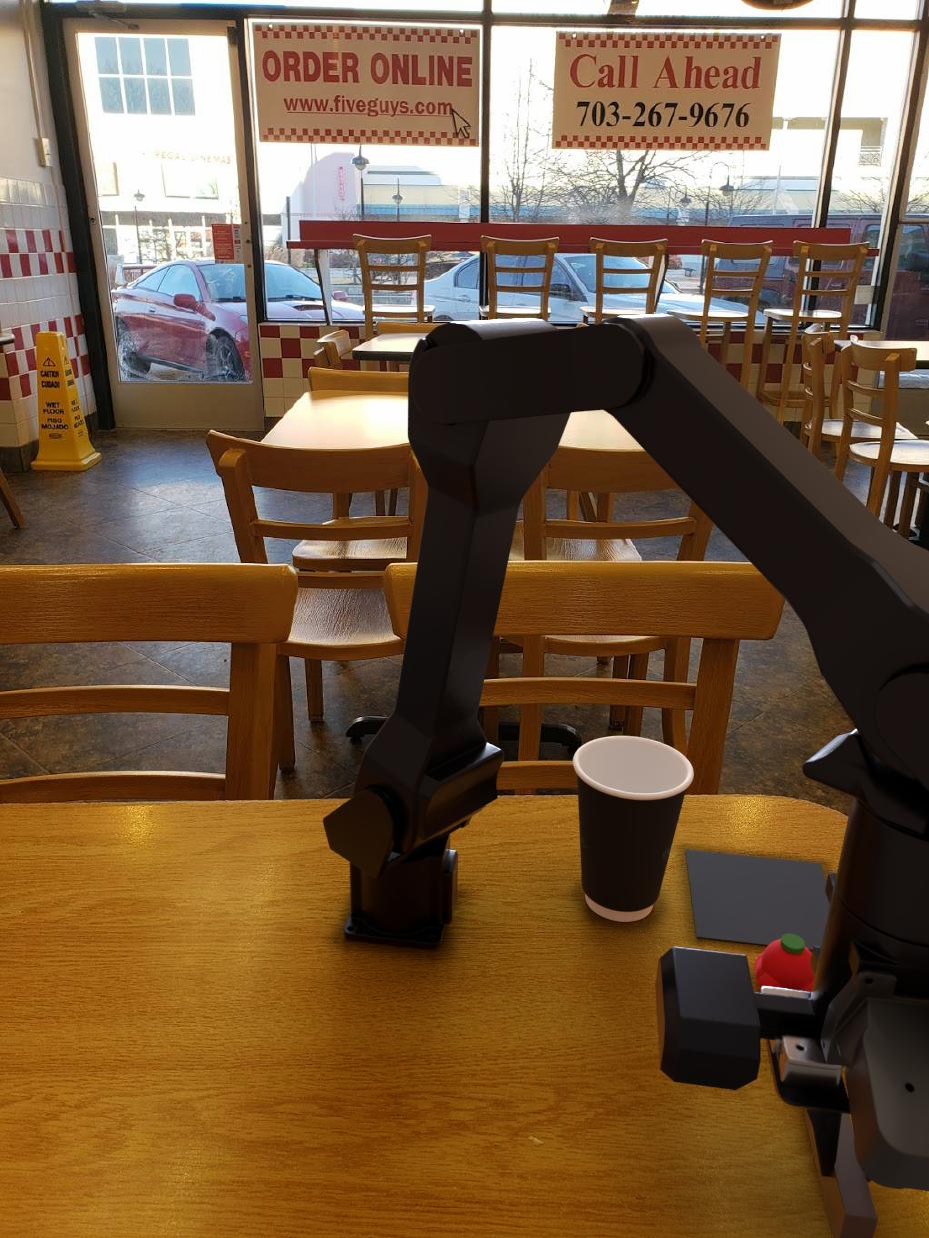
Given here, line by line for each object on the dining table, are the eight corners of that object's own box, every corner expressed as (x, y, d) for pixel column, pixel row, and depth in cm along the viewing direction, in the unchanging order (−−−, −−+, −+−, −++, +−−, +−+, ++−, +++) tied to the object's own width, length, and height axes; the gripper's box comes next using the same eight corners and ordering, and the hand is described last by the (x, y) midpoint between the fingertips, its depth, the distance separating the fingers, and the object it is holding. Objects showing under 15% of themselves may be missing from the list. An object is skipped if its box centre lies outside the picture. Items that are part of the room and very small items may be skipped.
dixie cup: (699, 920, 65) (719, 781, 60) (599, 949, 62) (613, 805, 58) (635, 855, 71) (649, 727, 67) (543, 879, 68) (552, 746, 64)
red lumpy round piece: (758, 1006, 57) (767, 956, 56) (750, 967, 60) (758, 919, 59) (819, 1014, 57) (829, 963, 55) (808, 974, 60) (817, 926, 59)
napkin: (696, 937, 63) (696, 936, 63) (685, 850, 72) (685, 849, 72) (851, 955, 62) (852, 954, 62) (820, 864, 71) (820, 863, 71)
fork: (887, 1261, 42) (898, 1222, 41) (816, 1250, 42) (825, 1211, 41) (818, 1011, 56) (825, 978, 55) (765, 1004, 56) (771, 971, 55)
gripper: (692, 1018, 32) (648, 1315, 38) (1286, 1093, 30) (1144, 1398, 36) (672, 833, 43) (640, 1089, 48) (1114, 879, 40) (1025, 1142, 46)
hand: (841, 1170), depth 44 cm, fingers closed on fork, 1 cm apart
